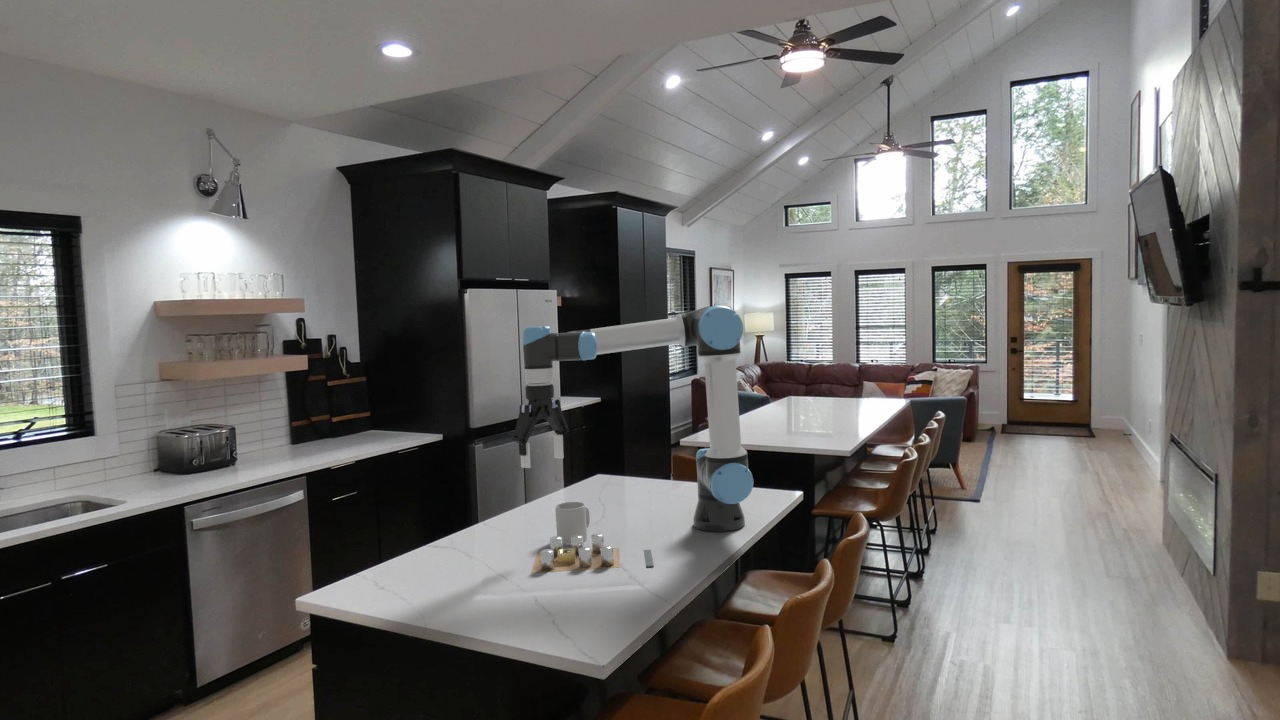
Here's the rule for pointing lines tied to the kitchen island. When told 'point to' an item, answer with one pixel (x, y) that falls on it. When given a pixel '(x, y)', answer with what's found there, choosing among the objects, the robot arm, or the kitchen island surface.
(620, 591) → the kitchen island surface
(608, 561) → the spacers
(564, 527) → the mug
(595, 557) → the board
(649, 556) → the mat
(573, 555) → the nut
